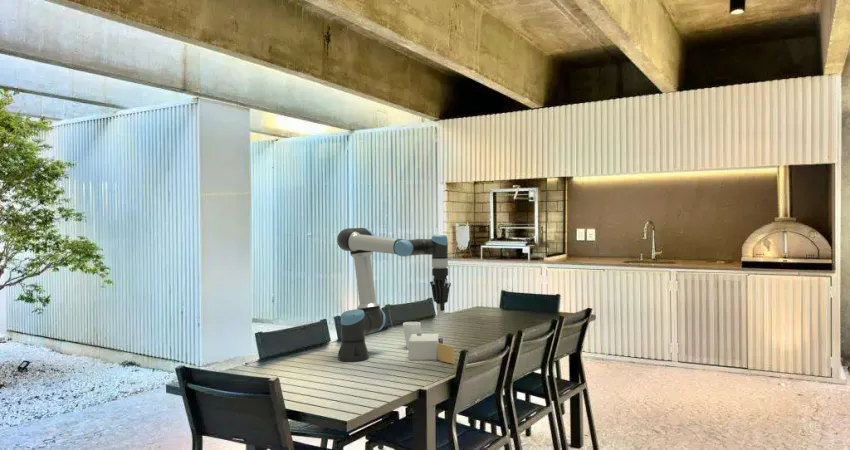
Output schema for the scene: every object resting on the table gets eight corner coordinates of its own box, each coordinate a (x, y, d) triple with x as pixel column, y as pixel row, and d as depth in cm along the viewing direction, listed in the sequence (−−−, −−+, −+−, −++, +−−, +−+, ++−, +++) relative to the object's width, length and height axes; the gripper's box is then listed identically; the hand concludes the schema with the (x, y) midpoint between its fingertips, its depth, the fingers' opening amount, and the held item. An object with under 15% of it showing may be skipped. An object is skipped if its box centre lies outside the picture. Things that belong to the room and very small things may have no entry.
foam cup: (422, 345, 324) (421, 321, 324) (420, 349, 315) (419, 324, 315) (404, 345, 325) (404, 321, 325) (402, 349, 315) (401, 324, 316)
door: (438, 358, 289) (437, 342, 289) (454, 363, 279) (454, 346, 279) (436, 359, 288) (435, 342, 288) (452, 363, 278) (452, 346, 278)
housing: (442, 359, 289) (441, 339, 289) (409, 359, 290) (408, 339, 290) (443, 351, 309) (442, 332, 309) (412, 351, 310) (411, 332, 310)
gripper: (455, 267, 281) (455, 318, 281) (437, 266, 291) (438, 315, 291) (442, 268, 276) (443, 319, 276) (425, 267, 286) (426, 316, 286)
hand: (440, 317), depth 284 cm, fingers closed
